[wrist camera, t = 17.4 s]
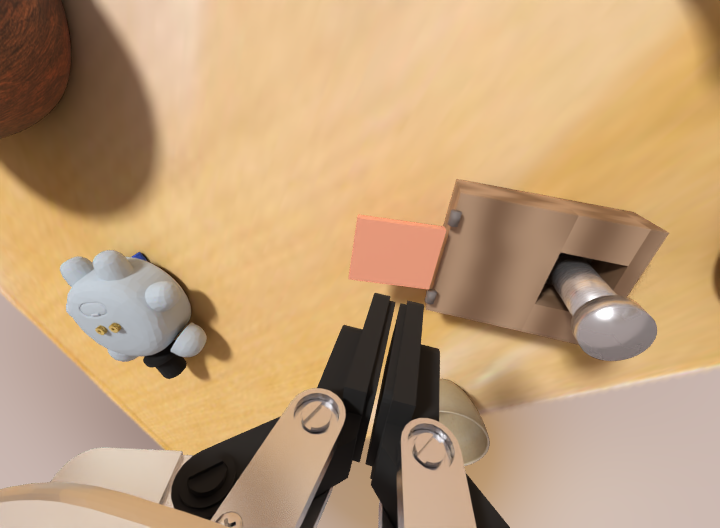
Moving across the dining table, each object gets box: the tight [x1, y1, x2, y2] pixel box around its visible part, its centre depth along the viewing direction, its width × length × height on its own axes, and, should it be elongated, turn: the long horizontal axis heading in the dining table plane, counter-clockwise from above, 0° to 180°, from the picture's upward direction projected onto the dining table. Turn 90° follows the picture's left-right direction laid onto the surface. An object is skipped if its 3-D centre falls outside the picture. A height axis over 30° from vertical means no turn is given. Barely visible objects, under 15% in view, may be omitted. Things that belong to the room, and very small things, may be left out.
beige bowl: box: [439, 379, 490, 466], centre depth 41 cm, size 10×10×7 cm
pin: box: [548, 252, 657, 361], centre depth 27 cm, size 5×5×12 cm
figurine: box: [60, 250, 207, 379], centre depth 44 cm, size 17×8×20 cm
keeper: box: [349, 215, 446, 289], centre depth 29 cm, size 8×6×1 cm
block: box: [425, 179, 669, 345], centre depth 30 cm, size 16×12×6 cm
